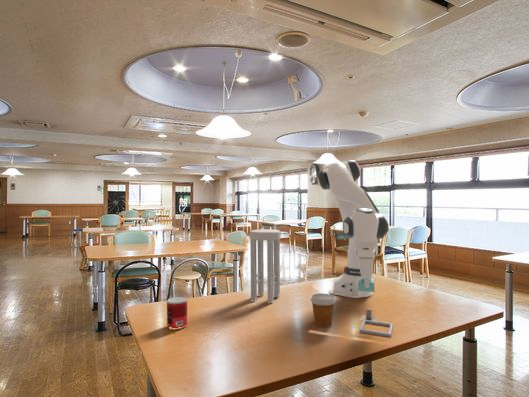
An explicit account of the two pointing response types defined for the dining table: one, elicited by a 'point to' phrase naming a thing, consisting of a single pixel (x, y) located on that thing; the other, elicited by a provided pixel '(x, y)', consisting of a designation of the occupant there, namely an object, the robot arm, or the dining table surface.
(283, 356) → the dining table surface
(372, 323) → the tray
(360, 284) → the ring
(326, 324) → the disposable coffee cup
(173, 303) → the canned food
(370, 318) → the stake
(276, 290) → the stool
